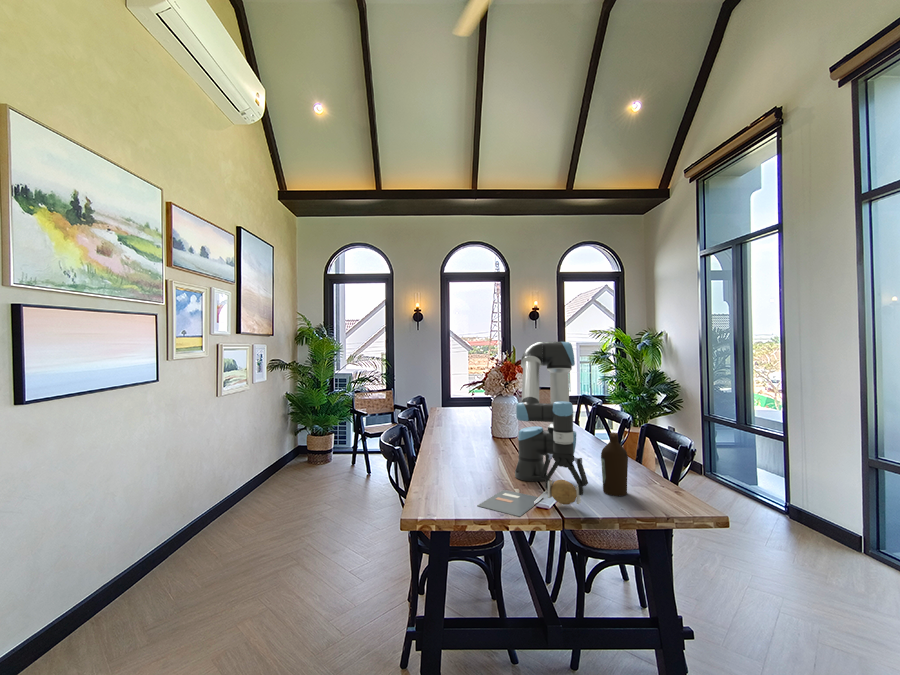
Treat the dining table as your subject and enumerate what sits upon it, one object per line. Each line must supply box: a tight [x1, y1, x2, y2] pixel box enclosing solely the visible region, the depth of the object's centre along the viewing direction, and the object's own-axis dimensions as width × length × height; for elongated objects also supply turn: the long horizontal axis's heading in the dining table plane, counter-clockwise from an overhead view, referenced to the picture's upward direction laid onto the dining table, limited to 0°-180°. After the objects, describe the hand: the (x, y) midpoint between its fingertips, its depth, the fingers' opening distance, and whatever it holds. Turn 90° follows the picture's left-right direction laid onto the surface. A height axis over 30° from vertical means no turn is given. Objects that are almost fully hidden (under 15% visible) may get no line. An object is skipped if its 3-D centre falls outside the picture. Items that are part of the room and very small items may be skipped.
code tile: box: [477, 489, 539, 518], centre depth 161 cm, size 22×18×1 cm
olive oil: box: [600, 431, 629, 497], centre depth 173 cm, size 11×11×25 cm
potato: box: [551, 479, 576, 506], centre depth 157 cm, size 10×14×8 cm
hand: (564, 500), depth 156 cm, fingers closed on potato, 10 cm apart
